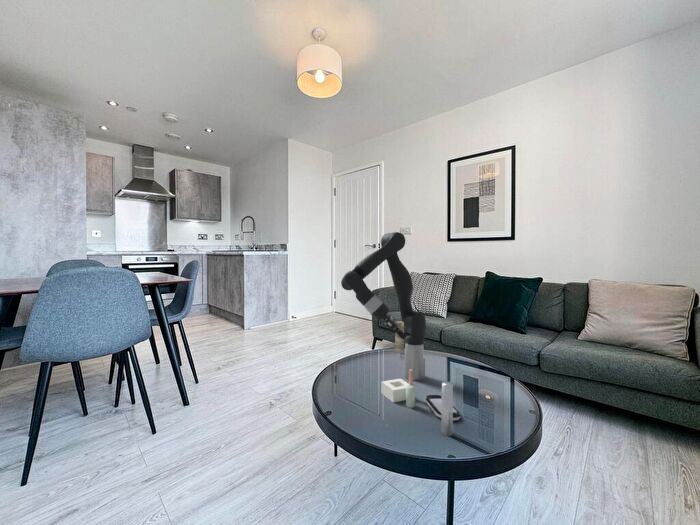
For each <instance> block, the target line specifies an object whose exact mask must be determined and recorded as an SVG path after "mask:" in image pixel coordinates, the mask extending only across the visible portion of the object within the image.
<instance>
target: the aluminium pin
mask: <svg viewBox="0 0 700 525" xmlns="http://www.w3.org/2000/svg"><path fill="white" fill-rule="evenodd" d="M453 394H454V386H453V383H452V382H451V381H449V380H448V381H447V380H446V381H445V380H444V381H442V382H441V396H442V416H441V419H440V420H441V425H440V426H441V428H440V429H441V431H440V432H441V434H442V435H444V436H447V437H451V436H453V435H454V433H453V432H454V430H453V429H454V425H453V423H454V422H453V406H454V403H453V402H454V397H453V396H454V395H453Z"/></svg>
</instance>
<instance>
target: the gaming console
mask: <svg viewBox="0 0 700 525" xmlns="http://www.w3.org/2000/svg"><path fill="white" fill-rule="evenodd" d="M424 401H425V403H426V405H428V407H429V408H430V409H431V411H432V413H434V414H435V416H436V417H437V418H438V419H439V420H441V416H442V395H440V394H429V395H425V397H424ZM461 418H462V416H461V412H460V411H459V410H458V409H457V408H456V406H454V405H453V423H455V422H458V421H459V420H461Z"/></svg>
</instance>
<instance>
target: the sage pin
mask: <svg viewBox="0 0 700 525" xmlns="http://www.w3.org/2000/svg"><path fill="white" fill-rule="evenodd" d="M405 406H406V408H409V409H412V408H415V407H416V386H415V385H413V386H412V385H407V386H406V400H405Z"/></svg>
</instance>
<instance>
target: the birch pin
mask: <svg viewBox="0 0 700 525" xmlns="http://www.w3.org/2000/svg"><path fill="white" fill-rule="evenodd" d="M396 323H397V326H398V327H399V328H400V330H401V331H402V332H403V333H404V332H405V326H404V322H402V320H400V321H399V320H398V321H397V320H396ZM395 329H396V327H395ZM394 336H395V341H394V344H395V345H394V346H395V348H394V349H395V351H396V352H403V351H404V352H405V347H404V346H405V338H404V339H402V338H401V337H400V336H399V335H398V334H397V333H394Z"/></svg>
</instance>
